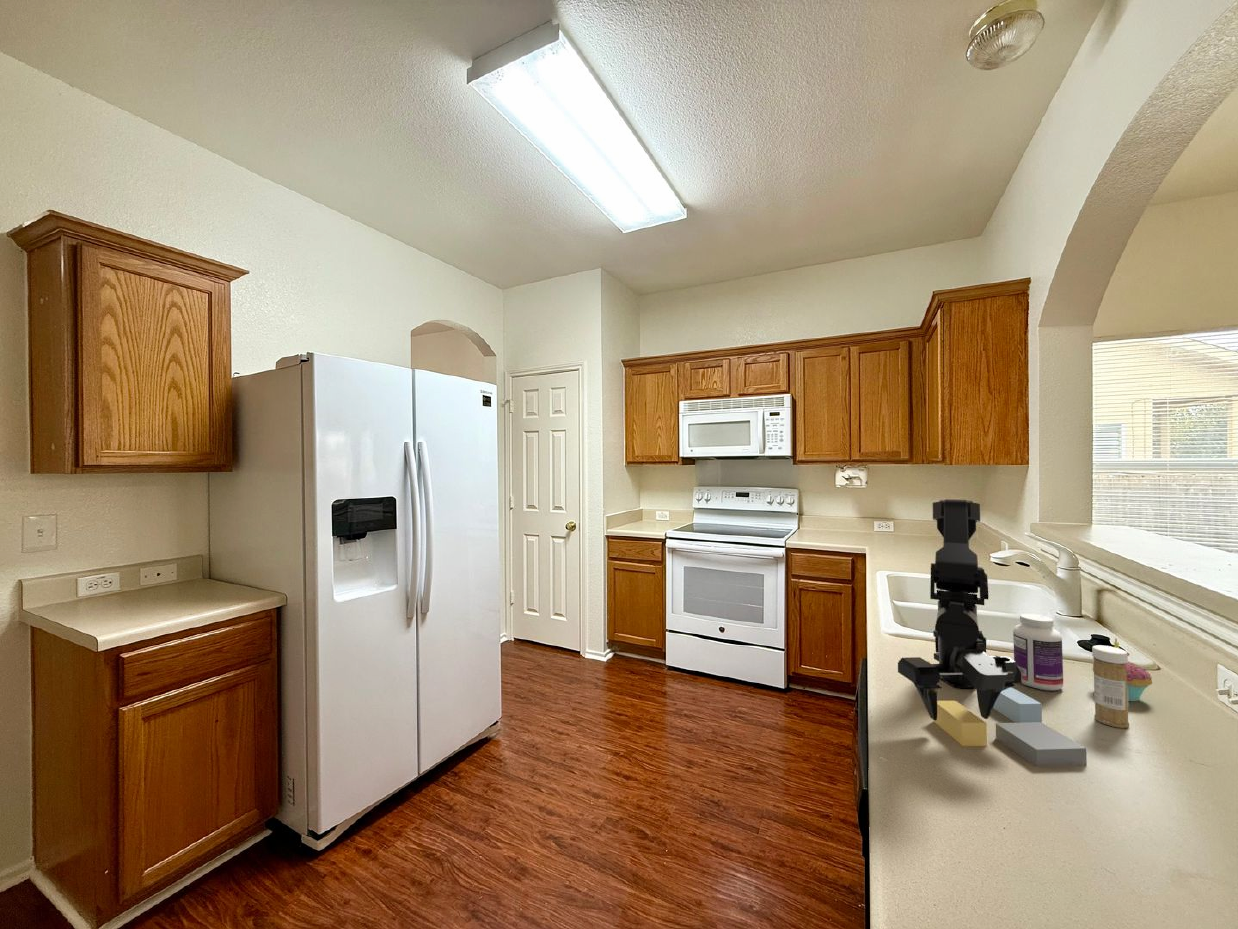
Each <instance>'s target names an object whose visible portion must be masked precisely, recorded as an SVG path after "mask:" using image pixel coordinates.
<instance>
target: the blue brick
mask: <svg viewBox="0 0 1238 929" xmlns="http://www.w3.org/2000/svg"><path fill="white" fill-rule="evenodd" d="M1042 705H1043V704H1042V703H1041V702H1039V701H1038V700H1036V699H1035V698H1032V697H1030V696H1028V695H1026V694H1024V693H1022V692H1021V691H1020V690H1017V689H1015V688H1014V687H1012V688H1008V689H1005V690H1003V691H1002V692H1001V693H1000V694H999V696H998V698H997V700H996V702H995V704H994V706H993V708H992V709H994V710H996V712H999V713H1000V714H1001V715H1003V716H1005V717H1006V718H1008V719H1010V720H1011V721H1013V723H1026V722H1041V723H1043V715H1042V713H1043V711H1042V710H1043V706H1042Z"/></svg>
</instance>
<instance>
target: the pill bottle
mask: <svg viewBox="0 0 1238 929" xmlns="http://www.w3.org/2000/svg"><path fill="white" fill-rule="evenodd" d="M1019 621H1020V624H1016V625H1015V626H1014V627H1013V629H1012V637H1013V638H1012V641H1013V660H1014V661H1015V664H1016V665H1017V666H1018V668H1019V669H1020V671H1021V672H1022V683H1021V684H1022V685H1025V686H1027V687H1030V688H1032V689H1033V688H1034V689H1038V690H1043V691H1051V692H1053V691H1059V690H1061V689H1063V687H1064V667H1063V666H1064V661H1063V637H1062V635H1061V633H1060V632H1059V631H1058V630H1056V629H1055V628H1053V627H1054V619H1053V618H1052V617H1049V616H1045V615H1042V614H1037V613H1036V614H1034V613H1022V614H1019Z"/></svg>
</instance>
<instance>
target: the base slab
mask: <svg viewBox="0 0 1238 929" xmlns="http://www.w3.org/2000/svg"><path fill="white" fill-rule="evenodd" d="M995 739H996V740H997V741H999V742H1001V743H1002V744H1003V745H1004V746H1006V747H1008V748H1009V749H1011V750H1012V751H1014V752H1015V753H1016V754H1017V755H1019V754H1020V755H1019V756H1020V757H1022V756H1023V758H1024V759H1026V760H1027V761H1028V762H1030V763H1032V764H1033V765H1034V766H1036V767H1038V768H1039V767H1062V766H1063V767H1067V766H1069V767H1070V766H1087V764H1088V762H1087V748H1086V747H1085V746H1083V745H1081V744H1079V743H1078V742H1077V741H1074V740H1073V739H1071V738H1069V737H1068V736H1066V735H1064V734H1063V733H1060V732H1059V731H1057V730H1056V729H1053V728H1052V727H1050V726H1048V725H1046V724H1044V723H1043V722H1042V723H1041V722H1026V723H1016V722H996V723H995Z"/></svg>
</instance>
